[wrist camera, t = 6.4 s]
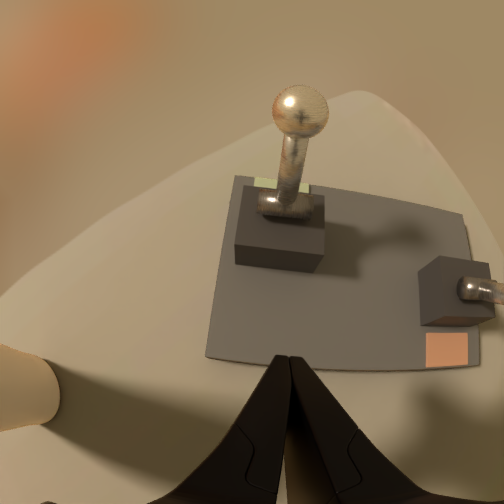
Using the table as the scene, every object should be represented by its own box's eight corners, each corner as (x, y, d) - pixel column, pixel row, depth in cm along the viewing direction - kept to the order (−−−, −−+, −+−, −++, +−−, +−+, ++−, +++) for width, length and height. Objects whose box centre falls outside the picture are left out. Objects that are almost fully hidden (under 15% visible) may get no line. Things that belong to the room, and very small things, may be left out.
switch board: (467, 367, 18) (505, 359, 14) (207, 358, 18) (197, 351, 14) (453, 222, 23) (480, 196, 19) (235, 187, 24) (234, 148, 19)
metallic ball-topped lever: (310, 232, 16) (342, 100, 11) (254, 226, 16) (269, 89, 11) (308, 203, 18) (333, 84, 13) (258, 197, 18) (271, 75, 13)
